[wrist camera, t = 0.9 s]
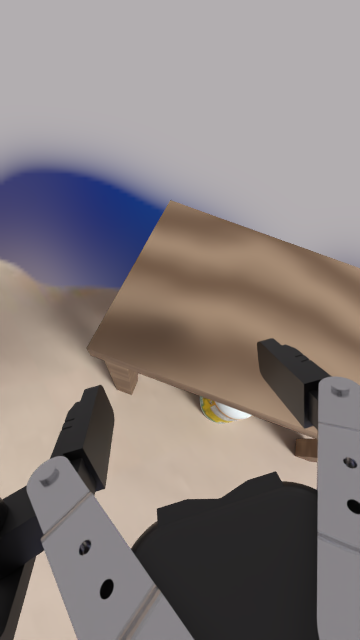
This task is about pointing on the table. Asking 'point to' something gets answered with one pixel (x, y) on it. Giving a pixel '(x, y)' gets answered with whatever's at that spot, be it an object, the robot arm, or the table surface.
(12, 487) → the table surface
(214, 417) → the supplement bottle
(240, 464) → the table surface
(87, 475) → the robot arm
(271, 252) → the walnut shelf
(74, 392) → the table surface
